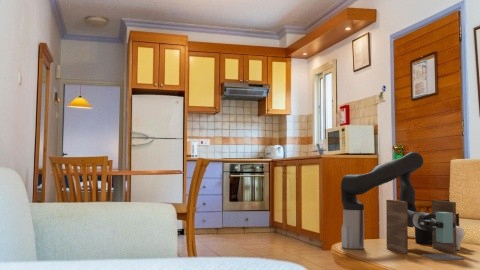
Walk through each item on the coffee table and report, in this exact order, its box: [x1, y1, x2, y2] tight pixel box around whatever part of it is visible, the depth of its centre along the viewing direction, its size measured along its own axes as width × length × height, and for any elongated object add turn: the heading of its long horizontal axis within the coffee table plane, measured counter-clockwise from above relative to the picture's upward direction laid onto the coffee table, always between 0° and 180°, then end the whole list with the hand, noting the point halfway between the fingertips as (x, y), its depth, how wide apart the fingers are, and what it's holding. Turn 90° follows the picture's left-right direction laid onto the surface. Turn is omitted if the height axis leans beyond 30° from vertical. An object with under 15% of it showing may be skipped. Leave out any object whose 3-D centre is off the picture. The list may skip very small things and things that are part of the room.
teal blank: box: [436, 212, 453, 243], centre depth 208 cm, size 4×5×12 cm
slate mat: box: [421, 253, 465, 261], centre depth 207 cm, size 12×11×1 cm
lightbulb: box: [456, 225, 465, 251], centre depth 229 cm, size 6×6×11 cm
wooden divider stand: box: [385, 199, 457, 255], centre depth 226 cm, size 24×16×22 cm, turn 101°
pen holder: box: [414, 227, 433, 245], centre depth 253 cm, size 9×9×10 cm
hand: (448, 225), depth 206 cm, fingers closed on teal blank, 4 cm apart
